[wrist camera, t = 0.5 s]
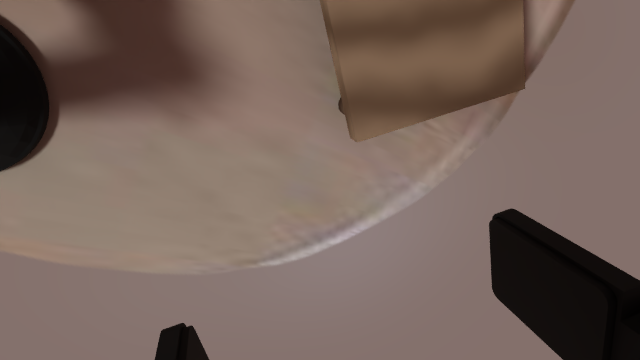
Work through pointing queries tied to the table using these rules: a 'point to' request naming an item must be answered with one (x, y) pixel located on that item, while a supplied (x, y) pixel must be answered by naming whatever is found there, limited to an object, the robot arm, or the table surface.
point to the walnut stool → (421, 58)
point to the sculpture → (19, 101)
